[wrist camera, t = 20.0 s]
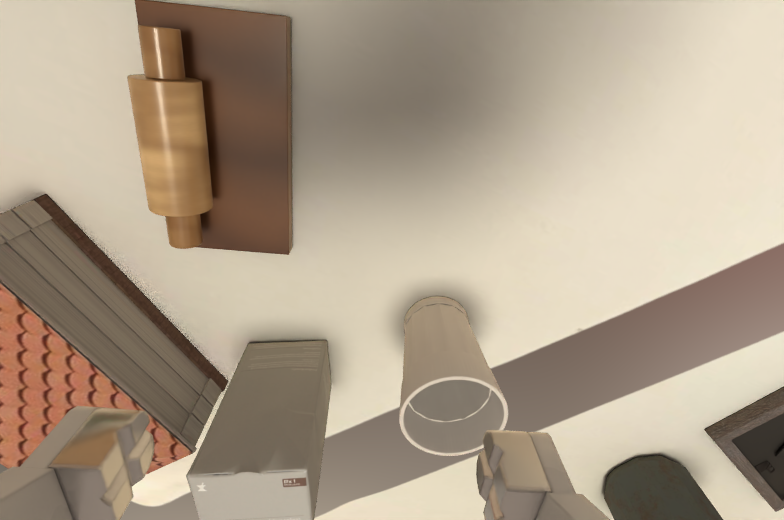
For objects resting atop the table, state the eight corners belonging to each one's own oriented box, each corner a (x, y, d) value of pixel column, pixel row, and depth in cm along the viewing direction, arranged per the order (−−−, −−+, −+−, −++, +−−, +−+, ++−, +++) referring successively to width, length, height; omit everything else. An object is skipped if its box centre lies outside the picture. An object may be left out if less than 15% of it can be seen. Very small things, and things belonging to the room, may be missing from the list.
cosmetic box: (257, 388, 45) (198, 544, 31) (246, 333, 42) (175, 479, 28) (336, 387, 45) (314, 541, 31) (332, 332, 42) (305, 476, 28)
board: (145, 0, 29) (133, -2, 28) (291, 17, 30) (286, 15, 28) (178, 238, 37) (170, 245, 36) (292, 247, 38) (289, 255, 36)
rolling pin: (184, 29, 30) (111, 21, 27) (207, 32, 27) (128, 23, 24) (204, 228, 36) (147, 237, 33) (225, 247, 33) (165, 259, 31)
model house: (-76, 275, 38) (-324, 396, 25) (45, 193, 35) (-165, 282, 22) (118, 434, 48) (14, 585, 34) (228, 381, 45) (160, 525, 31)
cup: (489, 301, 41) (527, 391, 30) (457, 363, 44) (481, 464, 33) (411, 279, 39) (421, 364, 29) (385, 344, 43) (385, 443, 32)
